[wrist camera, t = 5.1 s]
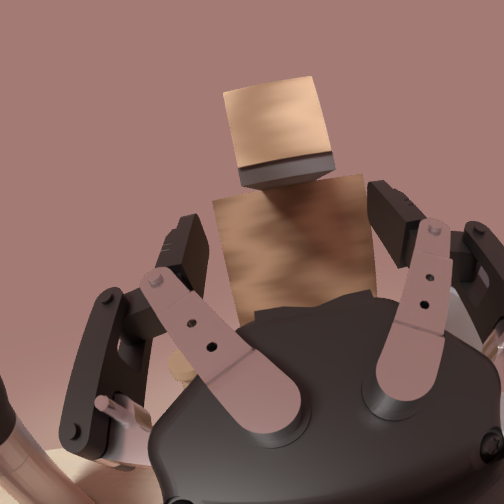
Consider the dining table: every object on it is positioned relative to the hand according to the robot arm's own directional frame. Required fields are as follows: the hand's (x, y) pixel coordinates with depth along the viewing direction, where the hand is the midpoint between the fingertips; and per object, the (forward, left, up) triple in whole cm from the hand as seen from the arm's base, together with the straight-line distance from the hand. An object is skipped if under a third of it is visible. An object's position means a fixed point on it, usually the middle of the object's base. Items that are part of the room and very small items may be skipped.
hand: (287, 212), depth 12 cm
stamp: (0, +10, +2) cm, 10 cm away
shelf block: (0, +15, -30) cm, 34 cm away
